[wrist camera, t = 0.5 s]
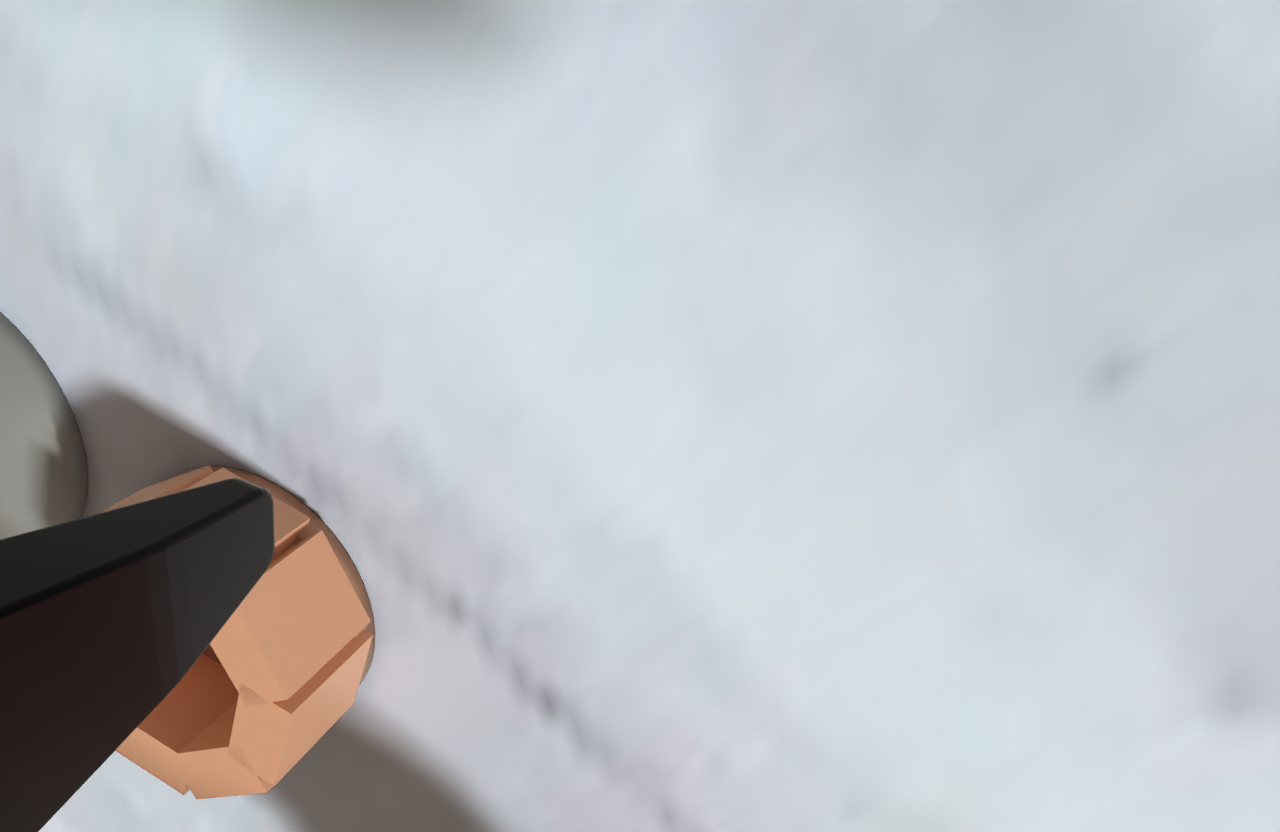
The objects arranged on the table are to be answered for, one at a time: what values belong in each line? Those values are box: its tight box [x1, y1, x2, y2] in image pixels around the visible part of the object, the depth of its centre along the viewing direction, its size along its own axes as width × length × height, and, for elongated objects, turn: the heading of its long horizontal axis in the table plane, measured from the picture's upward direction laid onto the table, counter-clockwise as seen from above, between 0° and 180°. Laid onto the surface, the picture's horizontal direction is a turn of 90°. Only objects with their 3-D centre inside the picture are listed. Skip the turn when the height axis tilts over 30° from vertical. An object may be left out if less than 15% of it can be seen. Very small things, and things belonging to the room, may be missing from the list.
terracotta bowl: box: [99, 465, 375, 799], centre depth 31 cm, size 10×10×4 cm
